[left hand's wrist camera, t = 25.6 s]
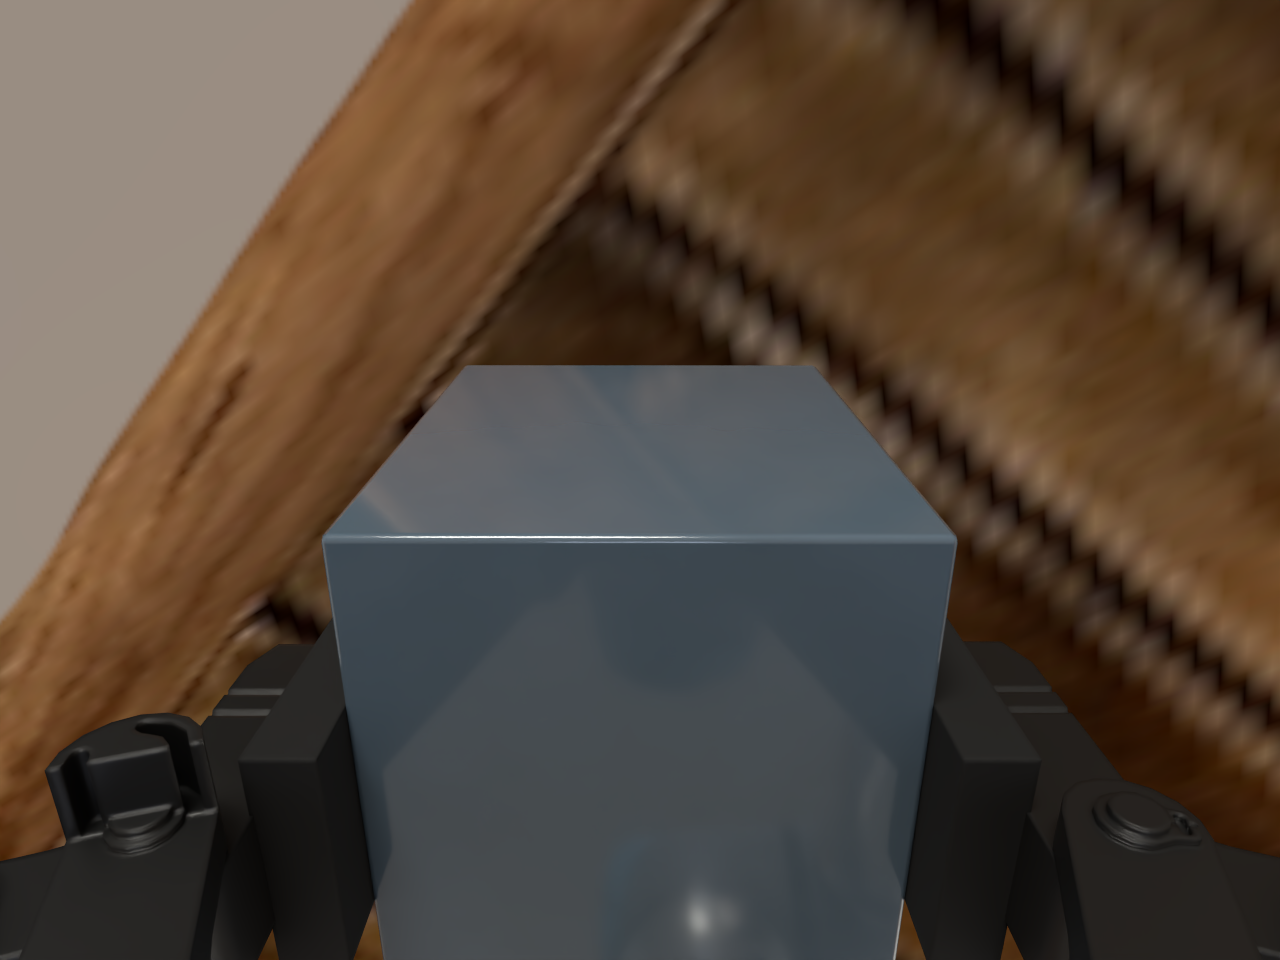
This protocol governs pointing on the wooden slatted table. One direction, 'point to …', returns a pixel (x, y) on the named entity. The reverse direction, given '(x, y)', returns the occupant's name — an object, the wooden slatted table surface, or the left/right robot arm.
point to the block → (639, 668)
